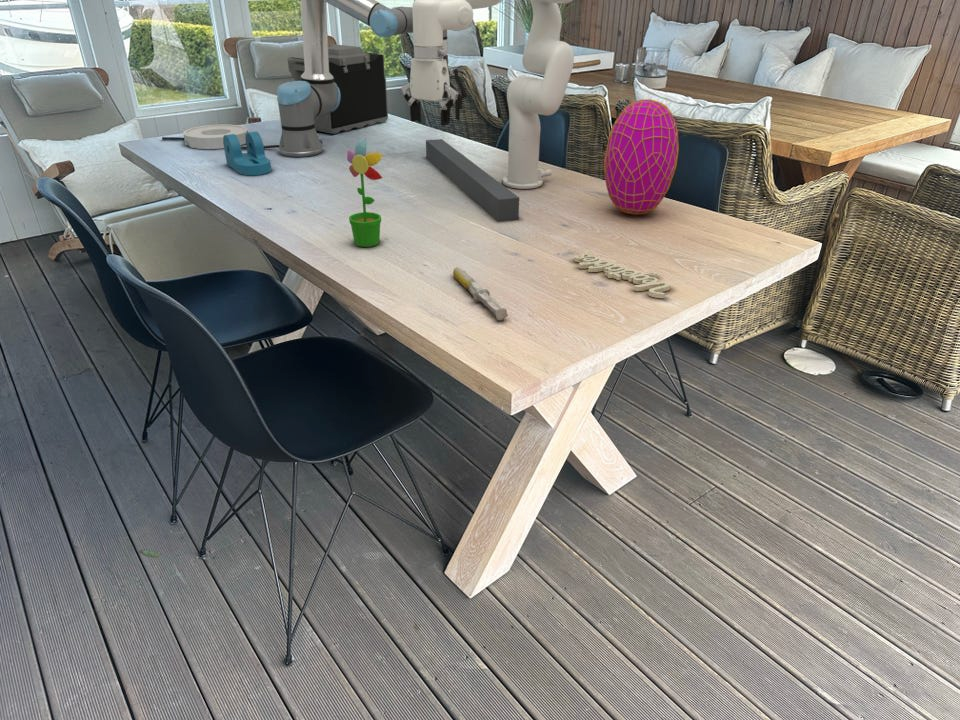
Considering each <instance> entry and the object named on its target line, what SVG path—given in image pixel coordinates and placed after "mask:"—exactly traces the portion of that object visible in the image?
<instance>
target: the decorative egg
mask: <svg viewBox="0 0 960 720" xmlns="http://www.w3.org/2000/svg"><path fill="white" fill-rule="evenodd" d="M671 111H672V110H670V108H669V107H668V106H667V105H666V104H664V103H662V102H660V101H658V100H654V99H649V98H647V99H639V100H636V101H633V102H630V103H629V104H628V105H626V106H625V107H624V108H623V109H622V111H621V112H620V114H619V115H618V117H617V118H616V120H615V121H614V123H613V125H612V127H611V130H610V133H609V136H608V140H607V144H606V148H605V153H604V161H603V170H604V171H603V172H604V179H605V187H606V190H607V194H608V197H609V198H610V200H611V202H612V204H613V205H614V206H615V207H616V208H617V209H618V210H619V211H621V212H623V213H625V214H628V215H645V214H647V213H650V212H651V211H653V210H655V209H656V208H657V207H658V206H659V205H660V203H661V202H662V201H663V199H664V198H665V196H666V195H667V193H668V191H669V189H670V187H671V184H672V181H673V178H674V176H675V172H676V169H677V165H678V159H679V147H680V146H679V145H680V144H679V131H678V126H677V122H676V120H675V117H674V115H673V113H672V112H671Z"/></svg>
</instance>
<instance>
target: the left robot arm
mask: <svg viewBox="0 0 960 720" xmlns="http://www.w3.org/2000/svg"><path fill="white" fill-rule="evenodd" d="M327 4H329V5H330V6H333V7H334V8H336V9H337V10H340V11H342V12H343V13H345V14H346V15H349V16H350V17H352V18H354V19H355V20H357V21H359V22H361V23H363V24H364V25H366V26H368V27H369V28H370V29H371V31H372V32H373V34H374V35H376V36H377V37H381V38H389V37H392V36H397V35H404V34H413V12H412V6H394V7H392V8H390V7H387V6H386V5H384V4H382V3H380V2H379V1H377V0H300V15H301V16H300V17H301V30H302V46H303V59H304V64H305V72H304V73H303V74H302V75H301V81H295V80H292V81H287V82H283V83H282V84H279V86H277V89H276V96H277V97H276V100H277V105H278V106H277V107H278V112H279V119H280V127H281V134H280V141H279V144H269V145H264V150H266V149H276V148H277V149H278V151H279V154H280V155H281V156H284V157H291V158H304V157H306V158H307V157H313V156H317V155H320V154H321V153H323V151H324V150H323V140H322V139H320V138H319V135H318V133H317V131H316V130H315V122H314V118H315V117H318V116H322V115H327V114H329V113H331V112H333V111H334V110H336V108H337V107H338V105H339V103H340V98H341V95H340V90H339V88H338V87H337V84H336V83H335V82H334V76H333V75H332V74H331V73H330V72H329V55H328V45H329V37H328V36H329V35H328V32H329V31H328V13H327ZM448 41H449V40H448V30H443V49H444V50H446V51H447V53H448V52H449V47H448V46H449V44H448ZM443 59H445V60H446V62H447V66H448V67H449V55H448V54H447V55H446V56H444V57H443ZM448 72H449V75H451V76H452V77H453V79H454V81H455V83H456V86H457V87H458V89H459V91H460V92H459V91H458V90H457V88H456V87H455V86H454V85H453V84H452V82H450V87H452V88H453V89H454V90H456V91H457V92H458V93H459V95H458V97H457V99H456V102H455V104H454V107H455V110H454V111H455V115H454V116H455V120H456V121H460V120H461V117H460V116H461V114H460V113H461V112H460V110H462V109H463V100H464V99H466V98H467V97H468V94H467V91H466V89H465V87H464V85H463V83H462V81H461V77H460V76H459V71H458V69H457V68H455V67H453V68H451V69H450V68H448ZM409 93H410V94H411V92H410V91H409ZM417 104H419V118H420V119H419V120H417V121H416V122H418V123H422V110H421V101H420V100H419V101H418V103H417ZM161 140H163V141H185V140H184V137H177V136H162V137H161ZM241 150H247V147H246V146H241Z"/></svg>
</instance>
